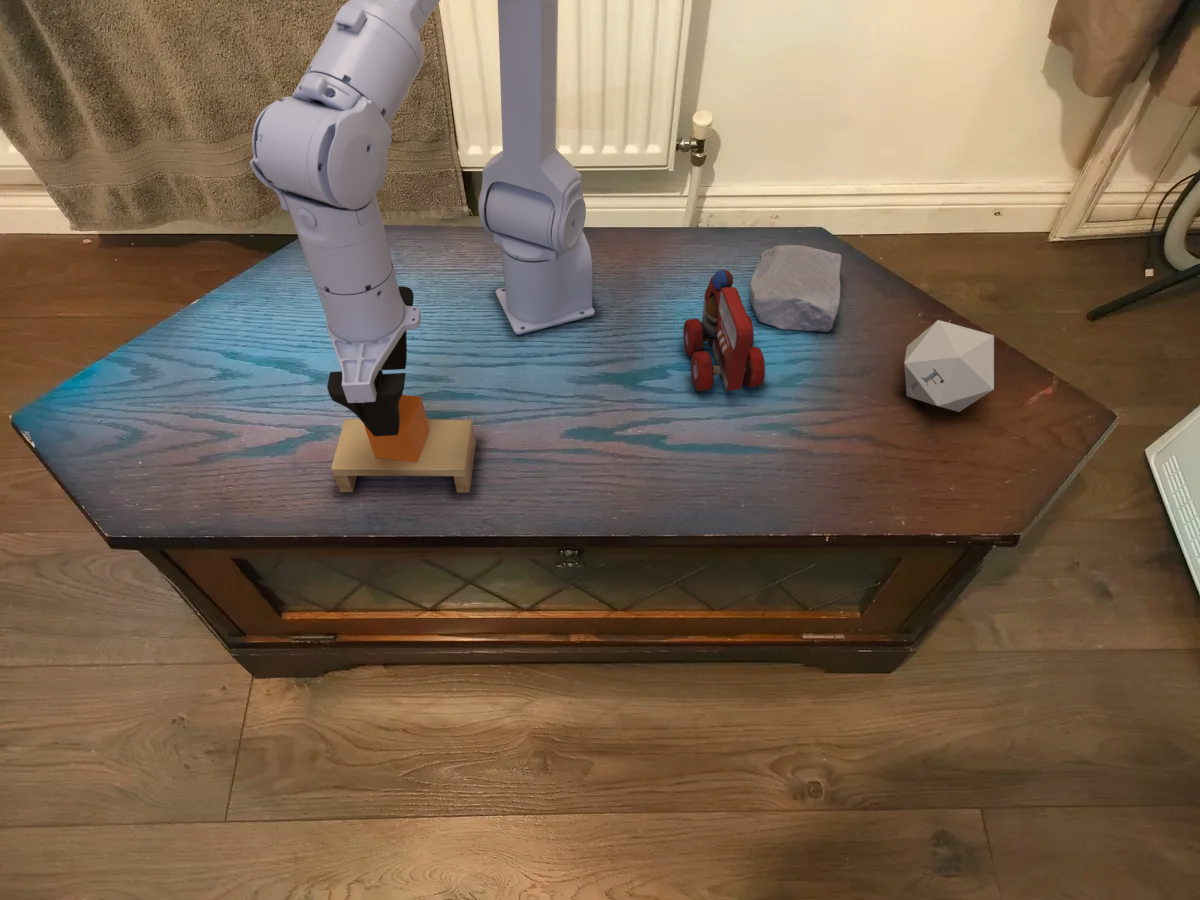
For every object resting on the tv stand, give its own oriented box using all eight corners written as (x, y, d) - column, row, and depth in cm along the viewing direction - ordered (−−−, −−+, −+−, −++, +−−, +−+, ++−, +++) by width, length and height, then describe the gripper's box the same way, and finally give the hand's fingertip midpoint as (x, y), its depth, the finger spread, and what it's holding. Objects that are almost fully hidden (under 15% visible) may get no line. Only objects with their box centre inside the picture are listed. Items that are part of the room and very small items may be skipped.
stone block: (748, 336, 88) (839, 335, 86) (746, 302, 85) (841, 300, 82) (756, 275, 96) (840, 273, 93) (754, 242, 93) (842, 238, 90)
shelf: (476, 443, 76) (472, 419, 73) (469, 492, 72) (465, 469, 69) (353, 442, 76) (344, 418, 73) (340, 492, 72) (330, 469, 69)
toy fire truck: (738, 324, 87) (753, 246, 79) (765, 404, 79) (785, 328, 71) (677, 328, 87) (686, 250, 79) (698, 409, 79) (711, 333, 71)
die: (878, 368, 84) (889, 349, 74) (951, 318, 83) (972, 293, 73) (927, 432, 82) (946, 421, 73) (1002, 382, 81) (1031, 365, 71)
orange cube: (388, 424, 73) (378, 391, 69) (429, 429, 72) (421, 396, 69) (374, 457, 70) (363, 424, 67) (417, 462, 70) (408, 430, 66)
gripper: (401, 335, 52) (432, 462, 62) (415, 209, 61) (441, 338, 71) (293, 340, 51) (343, 467, 62) (324, 213, 60) (363, 342, 71)
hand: (390, 398), depth 66 cm, fingers open, 7 cm apart
